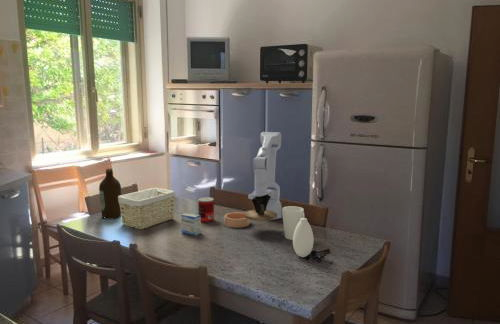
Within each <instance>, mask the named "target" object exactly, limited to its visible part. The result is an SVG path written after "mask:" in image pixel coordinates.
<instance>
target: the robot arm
mask: <svg viewBox="0 0 500 324" xmlns="http://www.w3.org/2000/svg"><path fill="white" fill-rule="evenodd" d="M259 139H260V141H259V142H260V144H261V147H259V149H258V152H257V155H256V156H255V157H253V161H252V165H253V166H252V167H253V173H254V190H253V192H251V193H250V194H248V195H247V196H248V199H249V200H251V202H252V204H253V206H254V210H255V211H256V213H260V211H261V205H264V211H266V210H270V211H274V212H276V213H277V218H275V219H272V220H267V221H268V222H269V221H273V220H278V219H283V215H282V202H281V201H280V197H281V191H280V190H281V187H280V185H279V184H278V183H277V182H276V167H277V166H276V164H277V163H276V161H277V152H278V150H280V149H281V146H282V134H281V132H279V131H277V132H273V131H272V132H271V131H262V132H261V133H260V138H259Z"/></svg>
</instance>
